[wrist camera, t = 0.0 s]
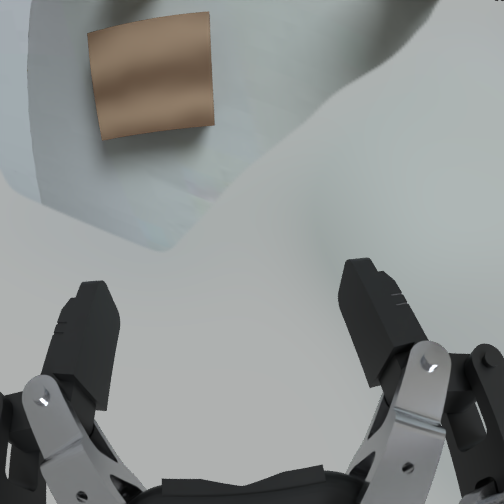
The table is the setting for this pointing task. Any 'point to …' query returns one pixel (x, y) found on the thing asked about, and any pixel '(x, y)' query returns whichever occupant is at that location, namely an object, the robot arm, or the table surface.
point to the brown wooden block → (152, 75)
